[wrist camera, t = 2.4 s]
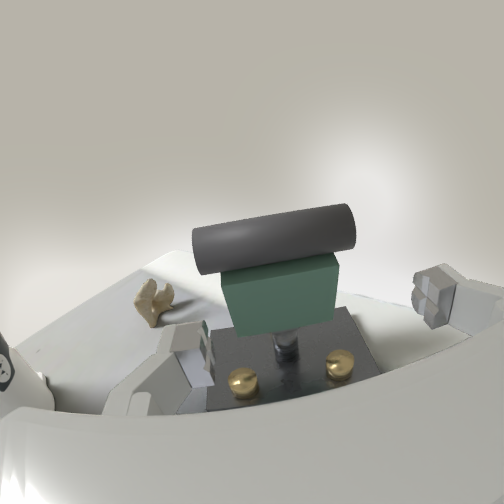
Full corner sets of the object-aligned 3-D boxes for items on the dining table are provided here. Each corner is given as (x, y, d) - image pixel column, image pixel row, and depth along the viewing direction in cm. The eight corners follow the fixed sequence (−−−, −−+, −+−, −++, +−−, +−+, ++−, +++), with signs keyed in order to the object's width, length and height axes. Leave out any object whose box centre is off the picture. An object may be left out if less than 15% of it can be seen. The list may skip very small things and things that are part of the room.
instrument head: (227, 349, 30) (190, 253, 21) (224, 306, 35) (194, 210, 26) (344, 327, 30) (360, 224, 21) (329, 288, 35) (335, 186, 26)
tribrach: (211, 418, 29) (192, 383, 26) (214, 339, 42) (202, 302, 39) (379, 386, 29) (388, 346, 26) (344, 316, 42) (345, 277, 39)
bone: (156, 288, 55) (158, 254, 48) (181, 308, 54) (186, 276, 47) (126, 315, 49) (121, 283, 42) (151, 337, 48) (150, 308, 41)
